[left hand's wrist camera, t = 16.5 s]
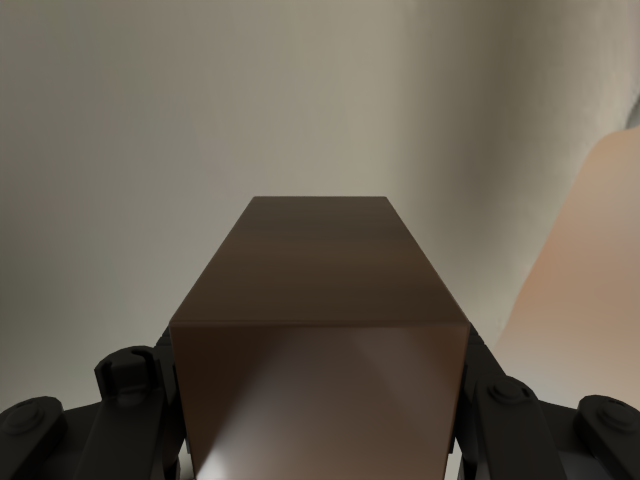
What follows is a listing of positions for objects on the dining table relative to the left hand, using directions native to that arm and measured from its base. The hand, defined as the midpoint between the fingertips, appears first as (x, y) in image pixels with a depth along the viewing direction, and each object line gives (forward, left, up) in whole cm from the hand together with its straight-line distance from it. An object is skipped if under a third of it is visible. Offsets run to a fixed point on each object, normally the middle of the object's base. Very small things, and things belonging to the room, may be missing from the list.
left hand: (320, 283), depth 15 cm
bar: (+10, +1, -1) cm, 10 cm away
